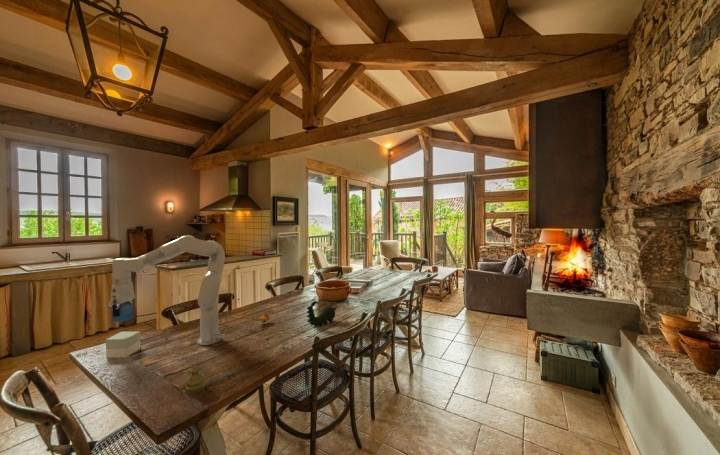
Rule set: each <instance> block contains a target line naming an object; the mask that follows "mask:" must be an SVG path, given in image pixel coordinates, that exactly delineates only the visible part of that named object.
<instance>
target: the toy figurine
mask: <svg viewBox="0 0 720 455" xmlns="http://www.w3.org/2000/svg"><path fill="white" fill-rule="evenodd" d="M316 304H317V305H319V302H318V301H316V300H314V301H312V302H311V304H310V305H308V307H306V313H307V315H306V317H307V318H308V319H307V322H308V323H310V326H313V327H314V328H317V327H318V325H319V327H320V326H322V327H323V324H324V325H327V324H328V323H329V321H332V322H333V321H334V318H336V309H337V306H336V307H332V306H330V305H329V306H325V307H324V308H323V309H322V310H321V313H319V314H318V316H316V313H314V312H315V311H314V306H315V305H316Z"/></svg>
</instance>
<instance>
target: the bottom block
mask: <svg viewBox="0 0 720 455" xmlns="http://www.w3.org/2000/svg"><path fill="white" fill-rule="evenodd" d="M140 349H141V340H140V341H138V342H136V343H135V344H133V345H131V346H130V347H128V348H126V349H106V348H105V358H106V357H113V358H114V359H115V358H119V359H120V357H123V358H127V357H129V356H130V355H132V354H134V353H136V352H138V351H140ZM123 358H122V359H123Z"/></svg>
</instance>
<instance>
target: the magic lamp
mask: <svg viewBox="0 0 720 455" xmlns="http://www.w3.org/2000/svg"><path fill="white" fill-rule="evenodd" d="M268 309H269V310H268V313H266V312H264V313H263V315H262V316H259V317H251V319H253V320H256V321H258V322H261V323H265V322H268V321H269V320H270V315H271V314H272V313H273V308H272V305H270V306H269V308H268ZM270 311H271V312H270Z"/></svg>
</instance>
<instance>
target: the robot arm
mask: <svg viewBox="0 0 720 455" xmlns="http://www.w3.org/2000/svg"><path fill="white" fill-rule="evenodd" d="M183 253H189V254H194V255H199V256H203V257H209V258H208V262H207V269H206V272H205V274H204V275H203V277H202V280H201V282H200V287H199V292H198V297H197V304H198V307H199V322H200V323H199V327H200V328H199V329H200V331H199V339H197V340H196V342H197V345H199V346H200V345H201V346H208V345H213V344H216V343H218V342H221V340H224V339H225V333H221V331H220V330H219V291H220V287H221V282H222V279H223V278H222V277H223V270H224V266H225V262H226V261H225V260H226V253H225V249H224V248H223V246H222V245H221V243H218V241H215V240H212V239H209V240H205V239H204V240H203V239H199V238H196V237H195V236H193V235H191V234H190V235H189V234H186V235H183V236H181V237H179V238H177V239H175V240H172V241H170V242H168V243H165V244H162V245H161V246H159V247H158V248H156V249H154V250H152V251H149V252H147V253H145V254H143V255H140V256H137V257H133V258H129V257H119V258H118V257H117V258H114V259H112V286H111V291H110V300H109V301H108V303H107V306H108V307H109V308H111V310H112V309H113V317H119V316H120V309H118V308H119V306H120V304H122V303H125V302H126V303H130V304H131V305H132V306H133V302H134V300H135V298H136V296H137V295H136V294H135V287H134V284H133V281H132V273H139V272H142V271H144V270H146V269H148V268H150V267H153V266H154V265H157V264H159V263H161V262H164V261H166V260H167V261H168V260H171V259H173V258H175V257H177V256H180V255H182V254H183ZM116 304H117V306H115V305H116Z"/></svg>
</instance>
